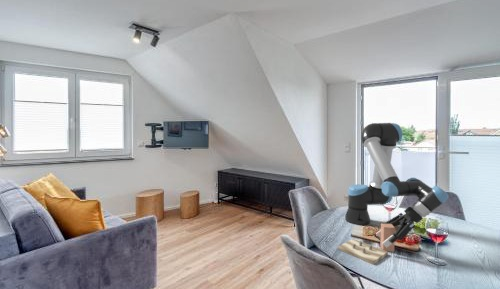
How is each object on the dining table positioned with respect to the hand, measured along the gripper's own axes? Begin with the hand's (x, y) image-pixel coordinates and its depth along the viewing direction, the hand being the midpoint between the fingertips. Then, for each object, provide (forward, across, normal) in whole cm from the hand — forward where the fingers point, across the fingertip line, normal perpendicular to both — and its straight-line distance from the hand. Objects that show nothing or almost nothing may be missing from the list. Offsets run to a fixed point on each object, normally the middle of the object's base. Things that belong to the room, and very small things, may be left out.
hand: (381, 240), depth 126 cm
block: (+1, 0, -5) cm, 5 cm away
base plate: (+10, -6, +4) cm, 12 cm away
